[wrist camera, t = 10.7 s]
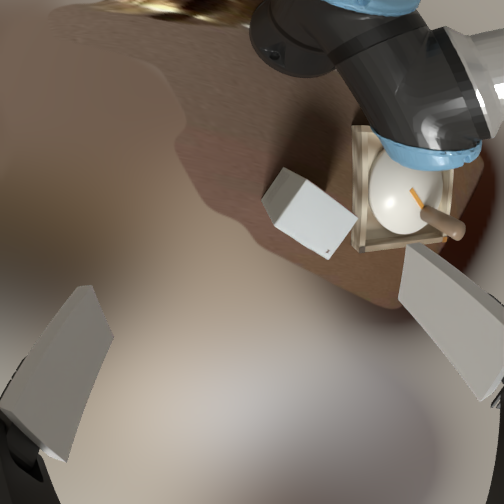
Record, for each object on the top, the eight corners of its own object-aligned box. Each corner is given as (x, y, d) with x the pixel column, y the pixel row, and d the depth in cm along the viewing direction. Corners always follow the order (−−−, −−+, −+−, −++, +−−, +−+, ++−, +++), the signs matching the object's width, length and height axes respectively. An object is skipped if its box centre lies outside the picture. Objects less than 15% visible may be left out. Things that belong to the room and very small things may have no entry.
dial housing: (351, 125, 37) (361, 125, 34) (442, 135, 38) (454, 136, 35) (350, 244, 45) (359, 253, 42) (435, 234, 46) (446, 241, 43)
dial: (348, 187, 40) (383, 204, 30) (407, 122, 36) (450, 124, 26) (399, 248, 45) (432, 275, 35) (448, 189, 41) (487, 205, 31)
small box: (324, 194, 41) (360, 218, 30) (301, 226, 43) (328, 262, 31) (282, 164, 39) (306, 177, 27) (259, 199, 41) (272, 227, 29)
